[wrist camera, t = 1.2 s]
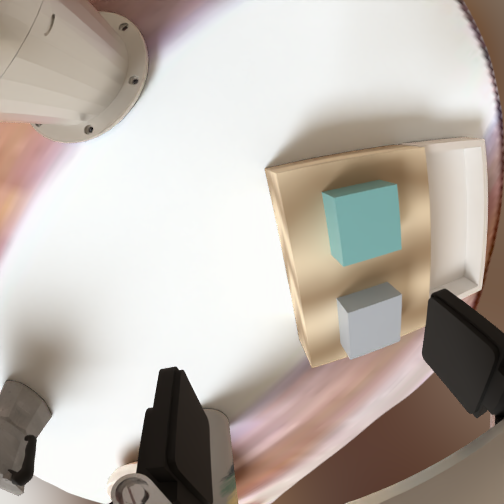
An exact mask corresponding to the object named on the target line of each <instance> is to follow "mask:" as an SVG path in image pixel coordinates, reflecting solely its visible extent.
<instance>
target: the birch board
mask: <svg viewBox="0 0 504 504" xmlns="http://www.w3.org/2000/svg"><path fill="white" fill-rule="evenodd" d="M265 173H266V177H267V182H268V186H269V191H270V195H271V200H272V205H273V209H274V214H275V219H276V223H277V228H278V233H279V238H280V243H281V247H282V252H283V257H284V262H285V267H286V272H287V277H288V282H289V287H290V293H291V298H292V303H293V308H294V314H295V319H296V324H297V330H298V335H299V340H300V342H301V344H302V346H303V349H304V351H305V353H306V356H307V358H308V360H309V362H310V365H311V367H312V368H315V367H318V366H321V365H324V364H328V363H331V362H334V361H337V360H340V359H343V358H346V357H348V355H347V353H346V352H345V350H344V348H343V347H342V345H341V343H340V331H339V320H338V309H337V300H336V298H339V297H342V296H345V295H349V294H352V293H355V292H358V291H361V290H364V289H367V288H370V287H373V286H376V285H379V284H382V283H385V282H388V283H390V284H391V285H392V286H393V287H394V288H395V289H396V290H398V291H399V292H400V293H401V294H402V311H401V331H400V337H401V336H404V335H406V334H408V333H411V332H413V331H415V330H418V329H420V328H422V327H424V326H425V325H426V316H427V306H428V300H429V288H430V265H431V221H430V199H429V184H428V173H427V163H426V154H425V147H417V146H404V145H388V146H382V147H375V148H368V149H362V150H356V151H350V152H344V153H339V154H333V155H328V156H322V157H317V158H312V159H307V160H302V161H297V162H292V163H287V164H283V165H278V166H273V167H269V168H265ZM375 180H383V181H387V182H391V183H395V184H397V189H398V199H399V211H400V225H401V246H402V249H401V250H398V251H394V252H391V253H388V254H385V255H381V256H378V257H375V258H372V259H368V260H365V261H362V262H358V263H355V264H352V265H348V266H345V267H343V266H342V265H341V264H340V263H339V262H338V261H337V260H336V259H335V258H334V257H333V256H332V255H331V250H330V243H329V236H328V229H327V222H326V216H325V210H324V204H323V198H322V192H324V191H328V190H333V189H337V188H342V187H346V186H351V185H356V184H361V183H365V182H370V181H375Z"/></svg>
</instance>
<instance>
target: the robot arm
mask: <svg viewBox="0 0 504 504" xmlns="http://www.w3.org/2000/svg"><path fill="white" fill-rule="evenodd" d="M125 28H127V29H126V30H125V31H124V29H125ZM148 64H149V58H148V49H147V46H146V43H145V40H144V38H143V36H142V34H141V32H140V31H139V30H138V28H137V27H136V26H135V25H134V24H133V22H131V21H130V20H128V19H127V18H126V17H124V16H121V15H119V14H116V13H113V12H106V11H97V10H96V9H95V8H94V6H93V5H92V4H91V3H90V2H89V1H88V0H0V122H4V123H30V124H31V125H32V126H33V127H34V129H35V130H36V131H37V132H38V133H39V134H41V135H42V136H43V137H45V138H47V139H49V140H52V141H54V142H60V143H78V142H85V141H88V140H91V139H94V138H96V137H98V136H100V135H102V134H104V133H106V132H107V131H109V130H110V129H112V128H113V127H114V126H115V125H117V124H118V123H119V122H120V121H121V120H122V119H123V118H124V117H125V116H126V115H127V114H128V112H129V111H130V110H131V108H132V107H133V105H134V104H135V103H136V101H137V100H138V98H139V95H140V93H141V91H142V89H143V87H144V84H145V80H146V77H147V73H148ZM135 80H138V83H137V84H133V82H134V81H135ZM92 127H93V131H92V133H91V132H90V129H91V128H92ZM422 356H423V359H424V360H425V361H426V363H427V364H428V365H429V366H430V367H431V368H432V370H433V371H434V372H435V373H436V374H437V375H438V376H439V378H440V379H441V380H442V381H443V383H444V384H445V385H446V386H447V387H448V388H449V390H450V391H451V392H452V393H453V395H454V396H455V397H456V398H457V399H458V401H459V402H460V403H461V404H462V406H463V407H464V408H465V409H466V410H467V412H468V413H470V414H472V413H473V415H474V416H475V417H476V418H478V417H479V416H481V415H482V414H484V413H485V412H486V411H487V410H488V411H489V412H490V413H491V418H490V429H489V430H488V431H487V432H486V433H484V434H482V435H481V436H480V437H478V438H477V439H475V440H474V441H472V442H471V443H469V444H468V445H466V446H465V447H463V448H462V449H460V450H458V451H457V452H455V453H453V454H452V455H450V456H448V457H447V458H445V459H443V460H441V461H440V462H438V463H436V464H434V465H433V466H431V467H429V468H427V469H425V470H423V471H421V472H419V473H417V474H415V475H413V476H411V477H409V478H407V479H405V480H403V481H401V482H399V483H396V484H394V485H392V486H390V487H387V488H385V489H383V490H380V491H378V492H375V493H373V494H370V495H368V496H365V497H362V498H360V499H357V500H354V501H352V502H349V503H346V504H504V333H503V332H501V331H500V330H499V329H498V328H496V326H494V325H493V324H492V323H490V322H489V321H488V320H487V319H486V318H484V317H483V316H482V315H480V314H479V313H478V312H477V311H475V310H474V309H473V308H471V307H470V306H469V305H467V304H466V303H465V302H464V301H462V300H461V299H460V298H458V297H457V296H455V295H454V294H453V293H451V292H450V291H449V290H447V289H441V290H439V291H436V292H434V293H432V294H431V297H430V298H429V300H428V306H427V316H426V325H425V334H424V341H423V348H422ZM111 499H112V502H111V503H110V504H213V489H212V472H211V451H210V426H209V421H208V418H207V416H206V414H205V412H204V410H203V408H202V406H201V404H200V402H199V400H198V398H197V396H196V394H195V392H194V390H193V388H192V386H191V384H190V382H189V380H188V378H187V376H186V374H185V372H184V370H178V368H177V367H171V368H165V369H161V370H160V371H159V376H158V381H157V387H156V393H155V399H154V405H153V408H148V409H147V410H146V413H145V418H144V424H143V430H142V436H141V442H140V449H139V456H138V462H137V470H136V473H131V474H127V475H124V476H122V477H121V478H119V479H118V480H117V481H116V482H115V483H114V485H113V486H112V490H111Z"/></svg>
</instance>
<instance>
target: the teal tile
mask: <svg viewBox="0 0 504 504" xmlns="http://www.w3.org/2000/svg"><path fill="white" fill-rule="evenodd" d="M322 198H323V204H324V210H325V216H326V222H327V229H328V236H329V243H330V250H331V255H332V256H333V257H334V258H335V259H336V260H337V261H338V262H339V263H340V264H341V265H342V266H343V267H345V266H348V265H352V264H355V263H358V262H362V261H365V260H368V259H372V258H375V257H378V256H381V255H385V254H388V253H391V252H394V251H398V250H401V249H402V246H401V225H400V211H399V199H398V189H397V184H395V183H391V182H387V181H383V180H375V181H370V182H365V183H361V184H356V185H351V186H346V187H342V188H337V189H333V190H328V191H324V192H322Z"/></svg>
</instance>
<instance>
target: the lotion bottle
mask: <svg viewBox="0 0 504 504" xmlns="http://www.w3.org/2000/svg"><path fill="white" fill-rule="evenodd" d="M203 410H204V412H205V414H206V416H207V418H208V421H209V426H210V451H211V472H212V489H213V504H238V498H237V490H236V482H235V473H234V464H233V455H232V446H231V436H230V427H229V421H228V418H227V417H226V416H225V415H224V414H223V413H222V412H220V411H217V410H214V409H203Z"/></svg>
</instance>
